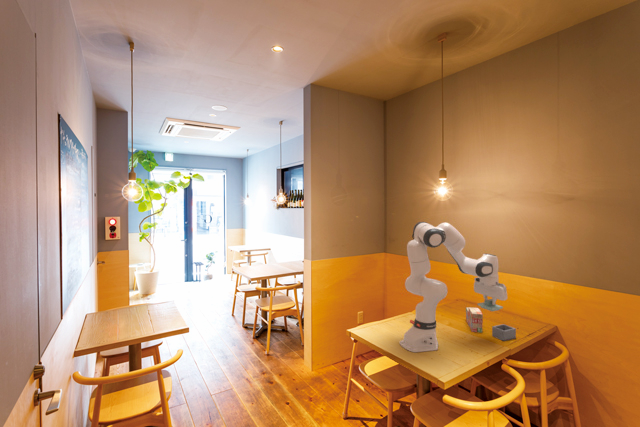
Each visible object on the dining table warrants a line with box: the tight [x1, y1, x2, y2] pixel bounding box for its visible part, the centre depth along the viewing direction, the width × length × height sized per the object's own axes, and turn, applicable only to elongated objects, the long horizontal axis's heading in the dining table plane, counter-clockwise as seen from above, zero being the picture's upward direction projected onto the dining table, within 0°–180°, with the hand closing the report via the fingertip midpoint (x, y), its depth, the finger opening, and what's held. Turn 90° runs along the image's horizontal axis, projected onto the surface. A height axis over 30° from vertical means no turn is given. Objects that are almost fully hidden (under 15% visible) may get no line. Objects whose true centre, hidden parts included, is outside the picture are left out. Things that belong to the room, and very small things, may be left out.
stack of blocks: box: [465, 307, 484, 334], centre depth 209 cm, size 21×6×12 cm, turn 165°
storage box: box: [491, 323, 517, 342], centre depth 191 cm, size 10×8×6 cm
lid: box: [477, 298, 504, 312], centre depth 186 cm, size 10×8×5 cm
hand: (489, 303), depth 186 cm, fingers closed on lid, 3 cm apart
